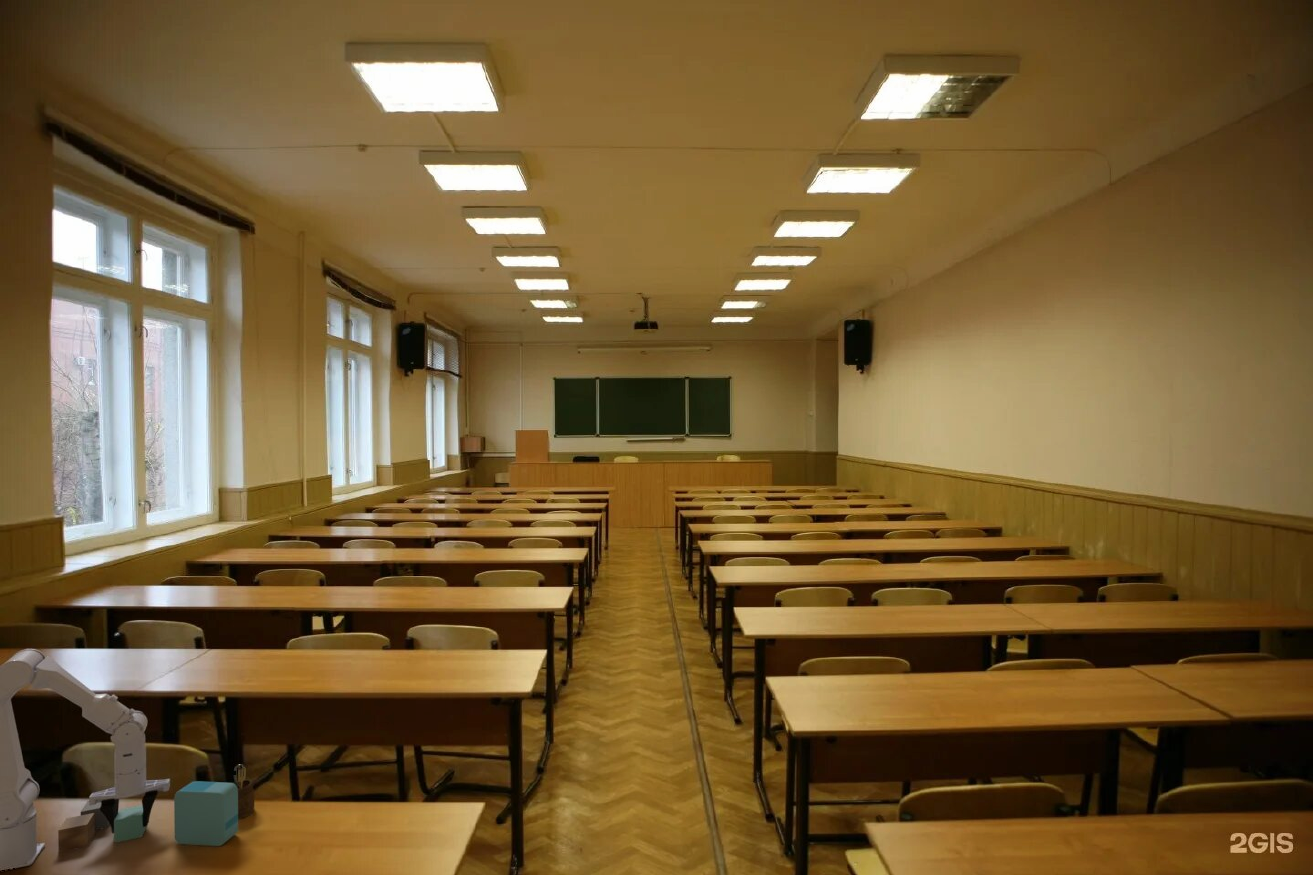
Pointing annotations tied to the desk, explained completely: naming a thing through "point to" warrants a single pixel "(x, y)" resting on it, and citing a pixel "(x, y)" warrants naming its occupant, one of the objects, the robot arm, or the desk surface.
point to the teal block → (129, 824)
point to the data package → (206, 813)
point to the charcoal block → (96, 815)
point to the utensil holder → (244, 795)
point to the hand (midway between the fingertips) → (130, 827)
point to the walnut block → (76, 832)
